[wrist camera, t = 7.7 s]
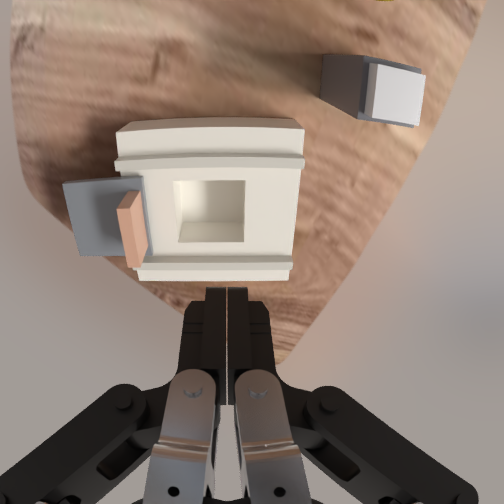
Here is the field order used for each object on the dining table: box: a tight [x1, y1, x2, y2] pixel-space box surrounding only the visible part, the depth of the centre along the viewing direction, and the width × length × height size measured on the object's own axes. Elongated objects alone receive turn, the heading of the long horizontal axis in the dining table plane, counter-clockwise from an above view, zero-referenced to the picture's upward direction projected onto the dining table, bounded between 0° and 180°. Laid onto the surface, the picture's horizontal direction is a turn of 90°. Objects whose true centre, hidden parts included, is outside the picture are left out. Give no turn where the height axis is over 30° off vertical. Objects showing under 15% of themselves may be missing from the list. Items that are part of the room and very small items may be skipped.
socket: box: [114, 117, 305, 281], centre depth 27 cm, size 14×14×5 cm
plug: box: [320, 54, 426, 128], centre depth 19 cm, size 4×4×10 cm
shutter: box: [62, 176, 153, 268], centre depth 23 cm, size 7×7×4 cm
